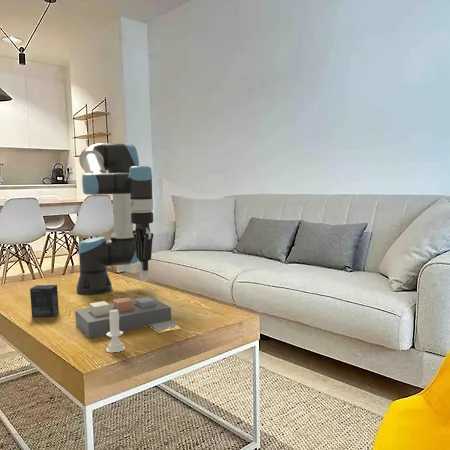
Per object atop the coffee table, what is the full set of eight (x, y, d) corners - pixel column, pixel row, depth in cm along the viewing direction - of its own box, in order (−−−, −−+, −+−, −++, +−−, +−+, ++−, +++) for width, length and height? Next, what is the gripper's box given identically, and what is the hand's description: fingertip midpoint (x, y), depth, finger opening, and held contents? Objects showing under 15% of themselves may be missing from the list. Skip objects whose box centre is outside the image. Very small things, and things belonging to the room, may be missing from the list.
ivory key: (90, 315, 145) (89, 303, 145) (105, 312, 148) (104, 301, 148) (94, 319, 141) (94, 307, 141) (109, 316, 144) (109, 304, 143)
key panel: (75, 324, 148) (75, 310, 148) (152, 310, 163) (152, 297, 163) (88, 338, 135) (88, 322, 135) (171, 321, 150) (170, 307, 149)
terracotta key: (113, 311, 150) (113, 299, 149) (127, 308, 152) (127, 297, 152) (118, 314, 145) (118, 302, 145) (133, 312, 148) (132, 300, 148)
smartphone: (158, 332, 138) (143, 318, 151) (158, 335, 138) (143, 321, 151) (182, 328, 142) (166, 315, 155) (182, 331, 142) (166, 317, 155)
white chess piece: (102, 352, 124) (100, 311, 122) (110, 345, 129) (108, 305, 128) (120, 353, 123) (118, 311, 121) (127, 346, 128) (126, 306, 127)
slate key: (136, 310, 154) (135, 299, 154) (149, 308, 157) (149, 297, 156) (141, 314, 150) (141, 302, 149) (155, 311, 152) (154, 300, 152)
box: (59, 312, 163) (57, 284, 162) (53, 316, 158) (51, 288, 157) (38, 312, 163) (36, 284, 162) (31, 317, 158) (29, 288, 157)
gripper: (124, 211, 153) (127, 277, 156) (138, 213, 142) (141, 284, 145) (144, 210, 157) (147, 274, 160) (160, 212, 146) (162, 281, 149)
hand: (144, 279), depth 152 cm, fingers closed
